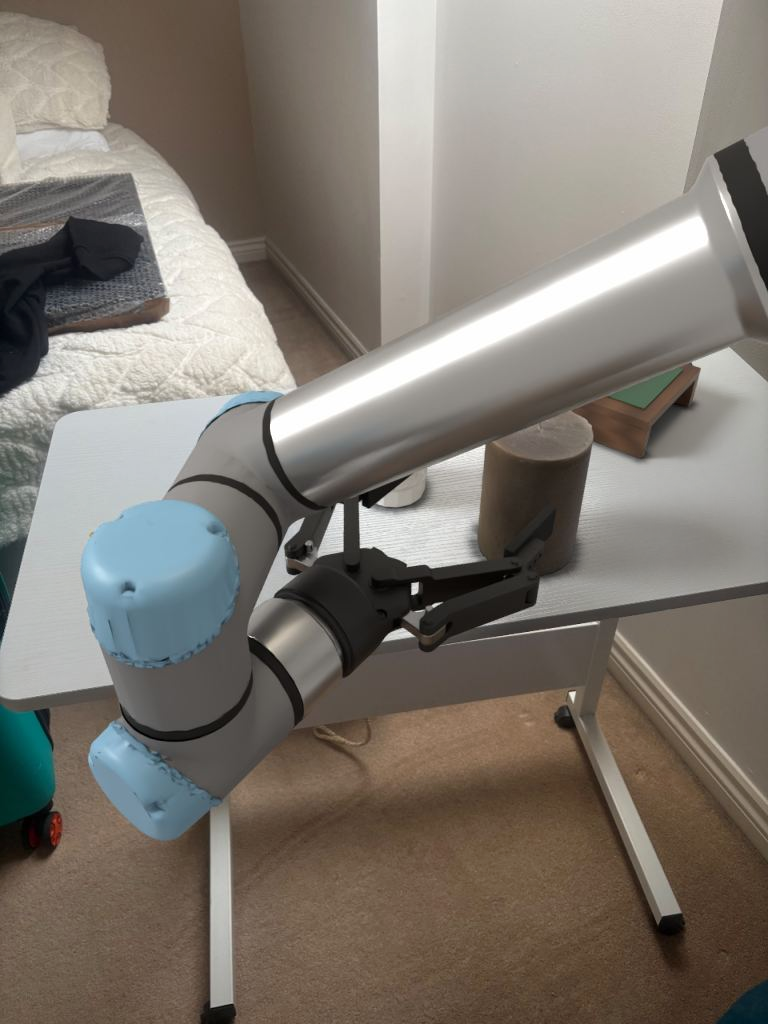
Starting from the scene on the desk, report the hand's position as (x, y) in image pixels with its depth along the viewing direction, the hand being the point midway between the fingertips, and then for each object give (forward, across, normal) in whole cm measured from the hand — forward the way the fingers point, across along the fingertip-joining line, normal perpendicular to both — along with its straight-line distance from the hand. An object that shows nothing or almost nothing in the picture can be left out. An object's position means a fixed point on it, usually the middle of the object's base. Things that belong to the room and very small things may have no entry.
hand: (478, 486), depth 69 cm
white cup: (+9, -16, -14) cm, 23 cm away
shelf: (+38, -4, -13) cm, 41 cm away
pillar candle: (+10, 0, -14) cm, 17 cm away
